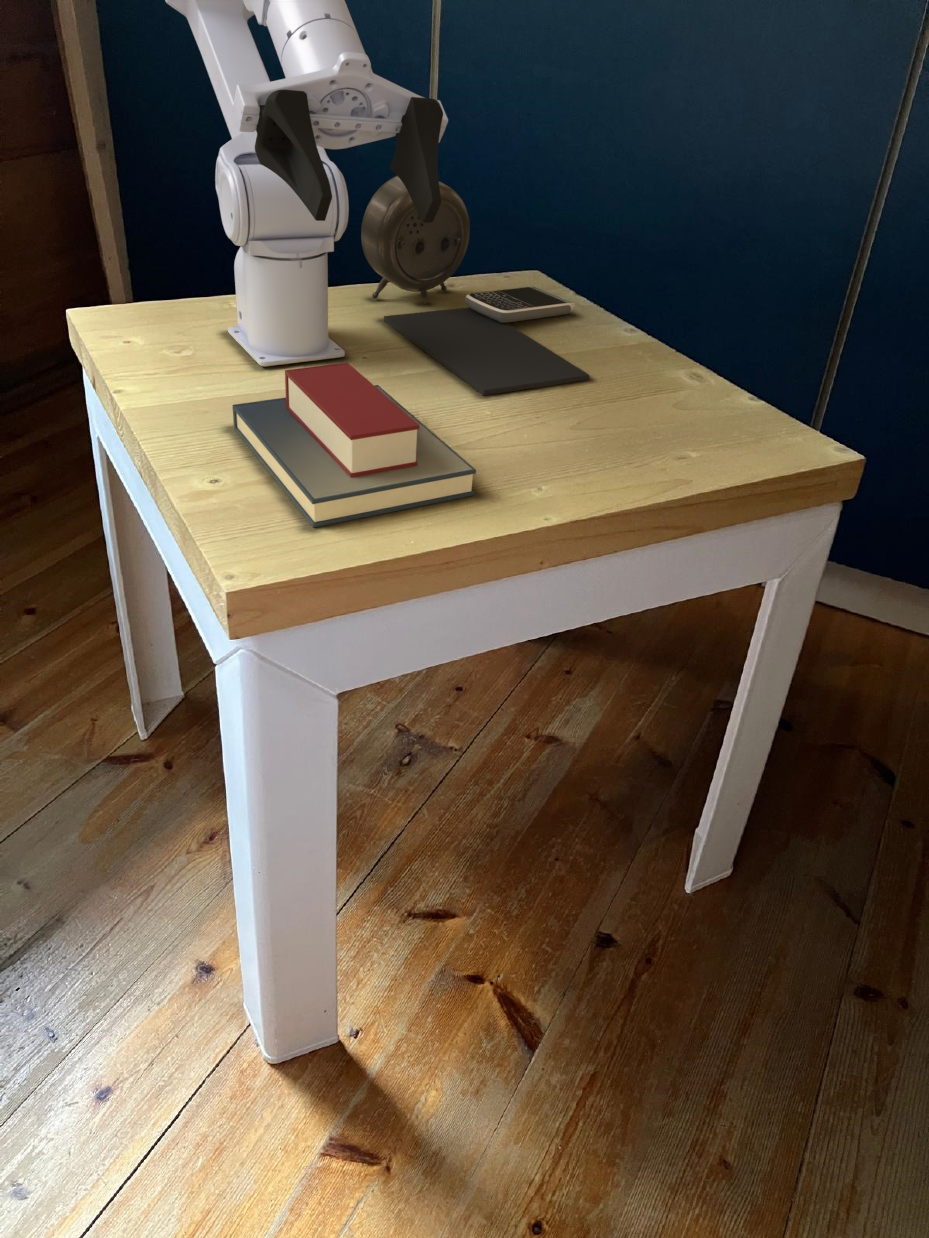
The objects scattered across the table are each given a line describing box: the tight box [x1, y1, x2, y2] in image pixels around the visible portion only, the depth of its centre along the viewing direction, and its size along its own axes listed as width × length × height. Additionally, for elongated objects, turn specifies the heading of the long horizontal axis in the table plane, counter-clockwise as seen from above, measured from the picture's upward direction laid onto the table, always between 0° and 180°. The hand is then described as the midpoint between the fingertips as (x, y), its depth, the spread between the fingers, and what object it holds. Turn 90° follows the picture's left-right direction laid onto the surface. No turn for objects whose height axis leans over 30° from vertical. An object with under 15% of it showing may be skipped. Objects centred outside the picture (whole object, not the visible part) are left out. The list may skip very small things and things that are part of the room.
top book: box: [284, 362, 419, 477], centre depth 70 cm, size 12×5×3 cm, turn 29°
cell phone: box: [465, 286, 576, 324], centre depth 101 cm, size 6×11×1 cm, turn 130°
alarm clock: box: [360, 175, 471, 304], centre depth 99 cm, size 11×5×16 cm, turn 123°
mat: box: [383, 306, 590, 396], centre depth 93 cm, size 20×11×1 cm, turn 29°
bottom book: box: [231, 384, 477, 528], centre depth 71 cm, size 16×12×2 cm
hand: (379, 210), depth 63 cm, fingers open, 7 cm apart
